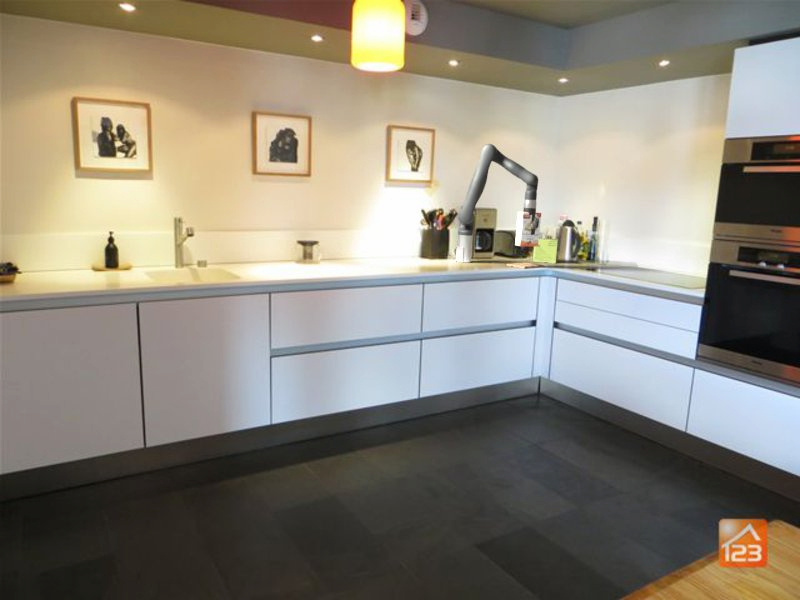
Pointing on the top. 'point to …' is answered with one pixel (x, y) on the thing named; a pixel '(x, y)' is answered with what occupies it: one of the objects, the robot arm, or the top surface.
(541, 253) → the protein box
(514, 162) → the robot arm
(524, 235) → the cracker box
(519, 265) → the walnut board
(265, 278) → the top surface
